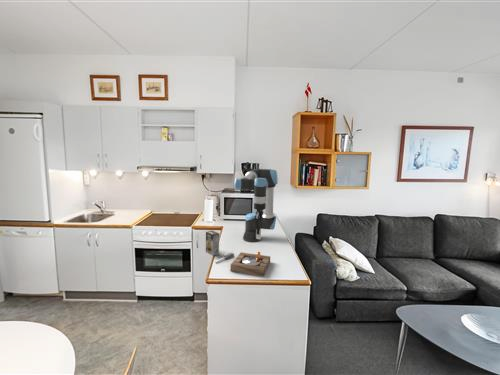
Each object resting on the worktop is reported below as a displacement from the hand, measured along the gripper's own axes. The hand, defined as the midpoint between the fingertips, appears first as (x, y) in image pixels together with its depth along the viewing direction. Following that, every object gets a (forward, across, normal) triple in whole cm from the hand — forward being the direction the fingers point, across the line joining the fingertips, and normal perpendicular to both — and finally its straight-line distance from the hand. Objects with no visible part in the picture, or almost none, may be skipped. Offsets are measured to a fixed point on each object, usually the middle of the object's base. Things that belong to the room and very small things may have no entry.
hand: (258, 238), depth 164 cm
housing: (+22, +6, +6) cm, 24 cm away
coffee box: (+23, +18, +40) cm, 49 cm away
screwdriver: (+23, +10, +27) cm, 36 cm away
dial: (+20, +6, +6) cm, 21 cm away
